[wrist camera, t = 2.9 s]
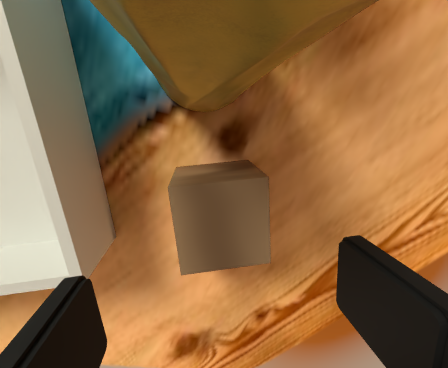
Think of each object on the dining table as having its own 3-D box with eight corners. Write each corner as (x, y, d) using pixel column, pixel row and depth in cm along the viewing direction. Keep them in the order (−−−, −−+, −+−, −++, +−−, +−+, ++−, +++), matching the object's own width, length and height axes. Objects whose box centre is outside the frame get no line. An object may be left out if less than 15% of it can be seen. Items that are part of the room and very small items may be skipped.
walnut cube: (247, 159, 17) (268, 177, 12) (251, 224, 18) (270, 263, 13) (176, 166, 16) (167, 187, 11) (185, 232, 18) (181, 275, 13)
